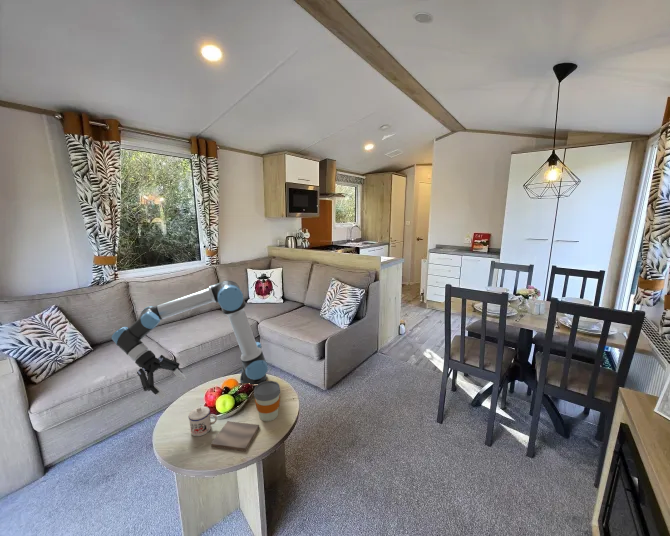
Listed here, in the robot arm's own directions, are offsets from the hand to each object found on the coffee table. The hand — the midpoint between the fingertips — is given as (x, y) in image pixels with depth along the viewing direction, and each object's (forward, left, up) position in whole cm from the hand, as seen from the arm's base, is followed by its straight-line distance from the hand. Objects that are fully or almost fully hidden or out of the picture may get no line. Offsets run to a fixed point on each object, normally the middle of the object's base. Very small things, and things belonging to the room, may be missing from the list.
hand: (175, 388), depth 136 cm
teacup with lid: (0, +12, -20) cm, 24 cm away
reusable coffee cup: (-14, +38, -20) cm, 46 cm away
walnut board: (+2, +29, -20) cm, 36 cm away
